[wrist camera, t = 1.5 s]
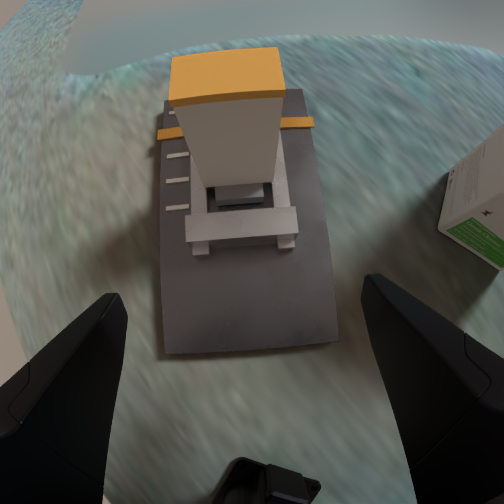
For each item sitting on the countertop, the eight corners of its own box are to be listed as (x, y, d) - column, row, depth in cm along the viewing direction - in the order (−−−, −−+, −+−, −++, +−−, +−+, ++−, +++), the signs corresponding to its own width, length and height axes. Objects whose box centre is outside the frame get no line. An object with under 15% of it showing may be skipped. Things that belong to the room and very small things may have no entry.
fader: (274, 201, 21) (289, 107, 11) (206, 206, 21) (167, 118, 11) (268, 143, 21) (274, 35, 12) (204, 149, 21) (173, 45, 12)
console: (339, 338, 20) (355, 343, 17) (165, 352, 20) (148, 358, 17) (303, 97, 24) (309, 69, 20) (164, 109, 24) (153, 82, 20)
